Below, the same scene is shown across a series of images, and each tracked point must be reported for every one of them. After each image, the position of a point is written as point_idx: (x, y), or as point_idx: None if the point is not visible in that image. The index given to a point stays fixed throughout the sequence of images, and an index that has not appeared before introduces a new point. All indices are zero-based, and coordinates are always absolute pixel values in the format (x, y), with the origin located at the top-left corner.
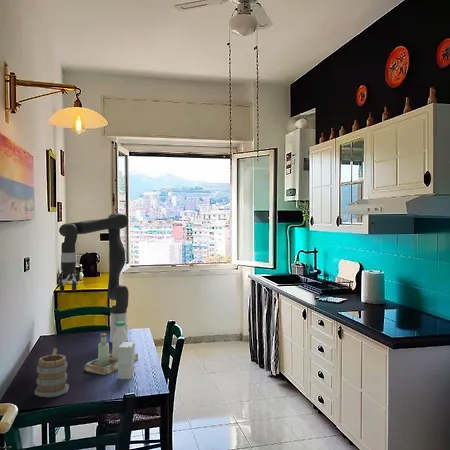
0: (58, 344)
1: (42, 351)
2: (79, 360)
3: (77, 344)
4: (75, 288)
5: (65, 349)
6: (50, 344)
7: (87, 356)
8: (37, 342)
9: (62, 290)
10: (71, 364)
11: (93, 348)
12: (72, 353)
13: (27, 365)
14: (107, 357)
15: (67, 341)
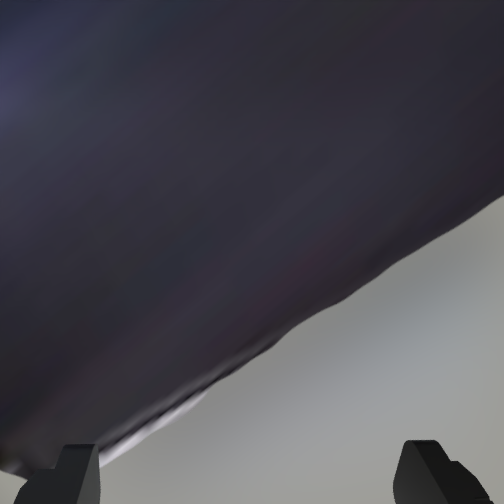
0: (113, 329)
1: (243, 313)
2: (308, 23)
3: (60, 244)
4: (70, 472)
5: (168, 238)
6: (132, 361)
7: (227, 26)
8: (134, 429)
9: (460, 481)
10: (382, 19)
11: (76, 101)
12: (213, 153)
13: (441, 222)
14: None
15: (44, 328)
